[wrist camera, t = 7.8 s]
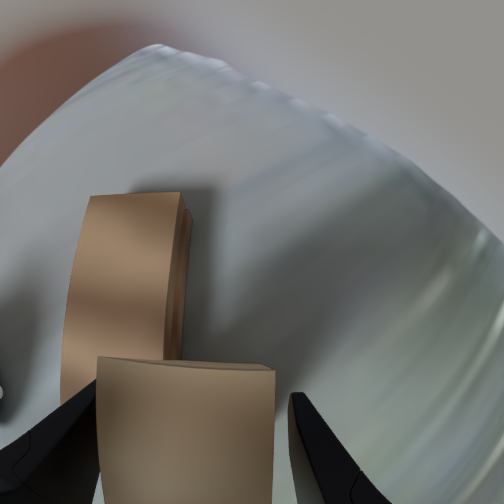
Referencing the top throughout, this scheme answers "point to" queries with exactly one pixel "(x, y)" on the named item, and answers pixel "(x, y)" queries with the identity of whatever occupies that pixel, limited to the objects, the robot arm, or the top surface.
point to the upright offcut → (185, 431)
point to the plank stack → (126, 284)
